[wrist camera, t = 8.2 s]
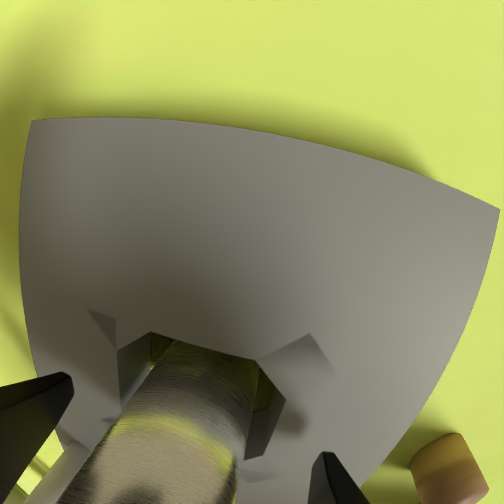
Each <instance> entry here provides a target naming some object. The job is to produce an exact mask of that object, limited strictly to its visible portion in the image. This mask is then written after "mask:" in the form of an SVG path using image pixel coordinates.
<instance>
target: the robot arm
mask: <svg viewBox="0 0 504 504" xmlns="http://www.w3.org/2000/svg"><path fill="white" fill-rule="evenodd" d="M74 393H75V391H74V386H73V381H72V377H71V376H70V375H69V374H67V373H65V372H63V371H60V372H57V373H53V374H49V375H46V376H42V377H38V378H34V379H31V380H27V381H23V382H19V383H15V384H11V385H7V386H2V387H0V504H3V503H4V501H5V500H6V498H7V496H8V495H9V493H10V491H11V490H12V489H13V487H14V485H15V484H16V482H17V481H18V479H19V478H20V477H21V475H22V474H23V472H24V471H25V469H26V468H27V466H28V465H29V463H30V462H31V461H32V459H33V458H34V456H35V455H36V453H37V452H38V451H39V449H40V448H41V446H42V445H43V444H44V442H45V441H46V439H47V438H48V437H49V435H50V434H51V433H52V431H53V430H54V429H55V427H56V426H57V424H58V423H59V421H60V419H61V417H62V416H63V414H64V412H65V410H66V409H67V407H68V405H69V404H70V402H71V400H72V398H73V397H74ZM307 504H370V502H369V501H368V500H367V498H366V497H365V496H364V494H363V493H362V491H361V490H360V489H359V487H358V486H357V484H356V483H355V482H354V480H353V479H352V477H351V476H350V475H349V473H348V472H347V470H346V469H345V467H344V466H343V465H342V463H341V462H340V460H339V459H338V457H337V456H336V454H335V453H334V452H328V451H322V452H321V453H320V454H319V456H318V457H317V459H316V460H315V462H314V464H313V466H312V470H311V479H310V487H309V495H308V503H307Z"/></svg>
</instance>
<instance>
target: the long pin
mask: <svg viewBox="0 0 504 504" xmlns="http://www.w3.org/2000/svg"><path fill="white" fill-rule="evenodd" d="M259 372H260V366H259V365H258V364H257V362H256V361H255V360H251V359H247V358H242V357H238V356H234V355H230V354H226V353H222V352H218V351H215V350H211V349H207V348H204V347H200V346H197V345H193V344H190V343H186V342H183V341H180V340H176V339H174V340H173V342H172V343H171V344H170V346H169V347H168V348H167V350H166V351H165V352H164V354H163V355H162V356H161V358H160V359H159V361H158V362H157V363H156V365H155V366H154V367H153V369H152V370H151V371H150V373H149V374H148V375H147V377H146V378H145V379H144V381H143V382H142V384H141V385H140V386H139V388H138V389H137V390H136V392H135V393H134V394H133V396H132V397H131V398H130V400H129V401H128V403H127V404H126V405H125V407H124V408H123V409H122V411H121V412H120V414H119V415H118V416H117V418H116V419H115V420H114V422H113V423H112V424H111V426H110V427H109V429H108V430H107V431H106V433H105V434H104V436H103V437H102V438H101V440H100V441H99V442H98V444H97V445H96V447H95V448H94V449H93V451H92V452H91V453H90V455H89V456H88V458H87V459H86V460H85V462H84V463H83V465H82V466H81V467H80V469H79V470H78V472H77V473H76V474H75V476H74V477H73V479H72V480H71V481H70V483H69V484H68V486H67V487H66V488H65V490H64V491H63V493H62V494H61V495H60V497H59V498H58V500H57V501H56V503H55V504H234V503H235V499H236V494H237V489H238V484H239V479H240V474H241V470H242V464H243V459H244V454H245V449H246V444H247V439H248V433H249V428H250V423H251V417H252V412H253V406H254V401H255V395H256V389H257V384H258V378H259Z"/></svg>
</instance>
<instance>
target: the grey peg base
mask: <svg viewBox="0 0 504 504" xmlns="http://www.w3.org/2000/svg"><path fill="white" fill-rule="evenodd" d="M499 213H500V209H498V208H496V207H494V206H492V205H490V204H488V203H486V202H484V201H482V200H480V199H478V198H476V197H473V196H471V195H469V194H467V193H464V192H462V191H460V190H458V189H455V188H453V187H450V186H448V185H446V184H443V183H441V182H438V181H436V180H433V179H431V178H428V177H425V176H423V175H420V174H417V173H415V172H412V171H409V170H406V169H403V168H400V167H398V166H395V165H392V164H389V163H385V162H382V161H379V160H376V159H373V158H370V157H366V156H363V155H359V154H356V153H352V152H349V151H345V150H342V149H338V148H334V147H330V146H326V145H322V144H318V143H314V142H310V141H305V140H301V139H296V138H292V137H287V136H282V135H277V134H272V133H266V132H261V131H255V130H249V129H243V128H237V127H230V126H223V125H215V124H207V123H198V122H189V121H178V120H166V119H150V118H127V117H80V118H58V119H44V120H32V121H31V126H30V130H29V135H28V141H27V146H26V152H25V159H24V166H23V174H22V183H21V194H20V210H19V263H20V279H21V290H22V299H23V307H24V314H25V321H26V327H27V333H28V338H29V343H30V348H31V352H32V357H33V361H34V365H35V369H36V373H37V377H42V376H46V375H49V374H53V373H57V372H60V371H63V372H65V373H67V374H69V375H70V376H71V377H72V381H73V386H74V391H75V393H74V397H73V398H72V400H71V402H70V404H69V405H68V407H67V409H66V410H65V412H64V414H63V416H62V417H61V419H60V421H59V423H58V424H57V426H56V427H55V431H56V433H57V436H58V438H59V441H60V443H61V445H62V448H63V450H64V452H63V453H62V455H61V456H60V457H59V458H58V460H57V461H56V462H55V463H54V465H53V466H52V467H51V468H50V470H49V471H48V472H47V473H46V475H45V476H44V477H43V478H42V480H41V481H40V482H39V483H38V485H37V486H36V487H35V489H34V490H33V491H32V492H31V494H30V495H29V496H28V498H27V499H26V500H25V501H24V503H23V504H55V503H56V501H57V500H58V498H59V497H60V495H61V494H62V493H63V491H64V490H65V488H66V487H67V486H68V484H69V483H70V481H71V480H72V479H73V477H74V476H75V474H76V473H77V472H78V470H79V469H80V467H81V466H82V465H83V463H84V462H85V460H86V459H87V458H88V456H89V455H90V453H91V452H92V451H93V449H94V448H95V447H96V445H97V444H98V442H99V441H100V440H101V438H102V437H103V436H104V434H105V433H106V431H107V430H108V429H109V427H110V426H111V424H112V423H113V422H114V420H115V419H116V418H117V416H118V415H119V414H120V412H121V411H122V409H123V408H124V407H125V405H126V404H127V403H128V401H129V400H130V398H131V397H132V396H133V394H134V393H135V392H136V390H137V389H138V388H139V386H140V385H141V384H142V382H143V381H144V379H145V378H146V377H147V375H148V374H149V373H150V345H151V332H154V333H157V334H160V335H163V336H167V337H170V338H173V339H176V340H180V341H183V342H186V343H190V344H193V345H197V346H200V347H204V348H207V349H211V350H215V351H218V352H222V353H226V354H230V355H234V356H238V357H242V358H247V359H251V360H255V361H256V362H257V364H258V365H259V366H260V367H261V369H262V370H263V371H264V372H265V374H266V375H267V376H268V378H269V379H270V380H271V381H272V383H273V384H274V385H275V386H276V389H275V392H274V395H273V397H272V400H271V403H270V406H269V407H268V408H266V409H263V410H261V411H258V412H255V413H252V417H251V423H250V428H249V433H248V439H247V444H246V449H245V454H244V459H243V464H242V470H241V474H240V479H239V484H238V489H237V494H236V499H235V503H234V504H307V503H308V495H309V487H310V479H311V470H312V466H313V464H314V462H315V460H316V459H317V457H318V456H319V454H320V453H321V452H322V451H328V452H334V453H335V454H336V456H337V457H338V459H339V460H340V462H341V463H342V465H343V466H344V467H345V469H346V470H347V472H348V473H349V475H350V476H351V477H352V479H353V480H354V482H355V483H356V484H357V486H358V487H359V488H360V487H361V486H362V485H363V484H364V483H365V482H366V481H367V479H368V478H369V477H370V476H371V475H372V474H373V473H374V472H375V470H376V469H377V468H378V467H379V466H380V465H381V463H382V462H383V461H384V460H385V459H386V457H387V456H388V455H389V454H390V452H391V451H392V450H393V449H394V447H395V446H396V445H397V443H398V442H399V441H400V439H401V438H402V437H403V435H404V434H405V433H406V431H407V430H408V428H409V427H410V425H411V424H412V423H413V421H414V420H415V418H416V417H417V415H418V414H419V412H420V411H421V409H422V407H423V406H424V404H425V403H426V401H427V399H428V398H429V396H430V395H431V393H432V391H433V389H434V388H435V386H436V384H437V383H438V381H439V379H440V377H441V375H442V374H443V372H444V370H445V368H446V366H447V364H448V362H449V360H450V358H451V356H452V354H453V352H454V350H455V348H456V346H457V344H458V342H459V339H460V337H461V335H462V333H463V330H464V328H465V326H466V323H467V321H468V319H469V316H470V314H471V311H472V308H473V306H474V303H475V300H476V298H477V295H478V292H479V289H480V286H481V283H482V280H483V277H484V274H485V271H486V267H487V264H488V260H489V257H490V253H491V249H492V245H493V241H494V237H495V232H496V228H497V223H498V218H499Z"/></svg>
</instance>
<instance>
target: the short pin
mask: <svg viewBox="0 0 504 504" xmlns="http://www.w3.org/2000/svg"><path fill="white" fill-rule="evenodd" d="M409 467H410V470H411V473H412V476H413V479H414V482H415V486H416V489H417V492H418V496H419V499H420V503H421V504H476V503H477V502H478V501H480V500H481V499H482V498H483V497H484V496H485V495H486V494H487V492H488V491H489V487H488V485H487V483H486V481H485V479H484V477H483V475H482V473H481V471H480V469H479V467H478V465H477V463H476V461H475V459H474V457H473V455H472V453H471V451H470V449H469V447H468V446H467V444H466V442H465V440H464V438H463V436H462V435H461V434H459V433H452V434H448V435H445V436H442V437H440V438H438V439H436V440H434V441H432V442H431V443H429V444H428V445H426V446H425V447H424V448H422V449H421V450H420V451H419V452H418V453H417V454H416V455H415V456H414V457H413V458H412V460H411V462H410V465H409Z"/></svg>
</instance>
